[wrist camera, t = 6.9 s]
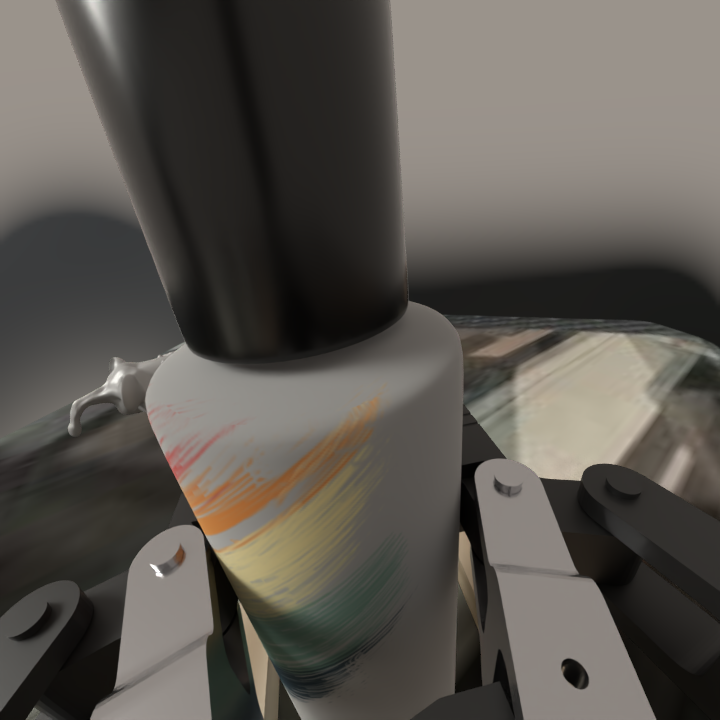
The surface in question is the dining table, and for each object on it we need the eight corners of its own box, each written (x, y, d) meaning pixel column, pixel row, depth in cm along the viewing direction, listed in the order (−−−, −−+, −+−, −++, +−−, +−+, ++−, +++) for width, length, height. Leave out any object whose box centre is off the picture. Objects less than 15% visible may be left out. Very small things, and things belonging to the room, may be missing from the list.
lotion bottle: (404, 581, 16) (352, 61, 7) (488, 733, 12) (642, -227, 2) (293, 646, 15) (39, 60, 5) (339, 855, 10) (-1044, -974, 1)
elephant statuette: (252, 409, 34) (232, 339, 31) (132, 493, 24) (86, 405, 21) (196, 393, 38) (174, 331, 35) (77, 459, 29) (32, 383, 26)
